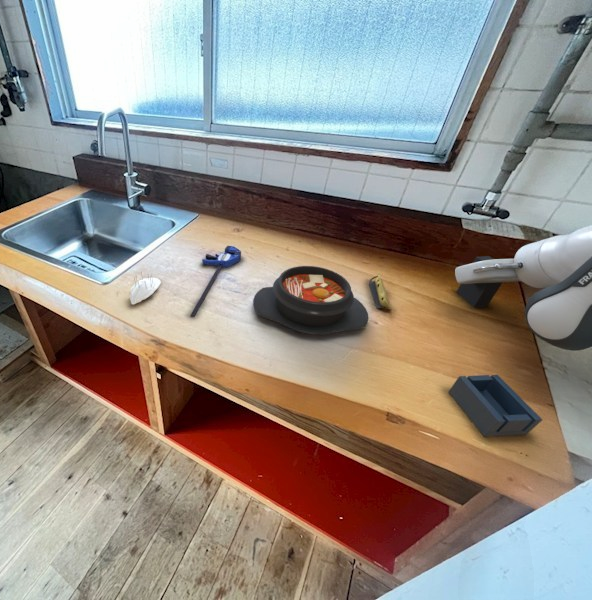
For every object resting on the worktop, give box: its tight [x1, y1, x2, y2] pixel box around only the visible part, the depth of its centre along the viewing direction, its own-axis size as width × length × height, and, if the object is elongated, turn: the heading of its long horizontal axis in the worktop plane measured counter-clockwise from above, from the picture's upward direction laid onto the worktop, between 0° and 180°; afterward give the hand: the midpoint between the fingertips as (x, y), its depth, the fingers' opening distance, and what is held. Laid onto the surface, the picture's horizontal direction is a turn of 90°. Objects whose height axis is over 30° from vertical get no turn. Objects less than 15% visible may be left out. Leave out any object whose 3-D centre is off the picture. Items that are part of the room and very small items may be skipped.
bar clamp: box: [190, 245, 242, 317], centre depth 86 cm, size 32×2×10 cm
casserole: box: [252, 265, 369, 336], centre depth 72 cm, size 25×19×8 cm
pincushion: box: [129, 271, 162, 306], centre depth 81 cm, size 12×6×6 cm, turn 153°
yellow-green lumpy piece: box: [368, 275, 392, 310], centre depth 78 cm, size 3×14×3 cm
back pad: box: [455, 255, 504, 308], centre depth 73 cm, size 6×3×10 cm, turn 1°
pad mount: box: [448, 374, 543, 438], centre depth 51 cm, size 8×6×4 cm
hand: (480, 278), depth 73 cm, fingers closed on back pad, 3 cm apart
